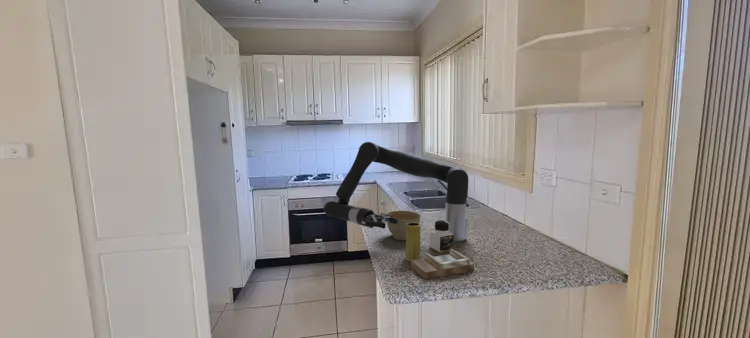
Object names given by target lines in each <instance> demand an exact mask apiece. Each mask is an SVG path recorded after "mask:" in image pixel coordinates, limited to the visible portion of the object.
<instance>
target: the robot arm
mask: <svg viewBox="0 0 750 338" xmlns="http://www.w3.org/2000/svg"><path fill="white" fill-rule="evenodd" d="M353 161H354V162H353V164H352V165H351V168H350V169H349V170H348V172H347V174H346V175H345V177H344V179H343V180H342V181H341V183H340V185H339V187H338V189H337V190H336V193H335V195H336V197H337V198H338V201H337V202H336V201H334V200H330V201H328V202H326V203H325V204H324V206H323V211H324V213H325V215H326V216H328V217H332V218H336V219H340V220H344V221H347V222H350V223H353V224H356V225H359V226H364V227H366V228H369V229H373V228H380V229H386V227H387V222H390V223H394V224H397V223H398V219H396V218H392V215H388V214H387V213H383V212H380V214H379V213H375V212H374V211H373V210H372V209H370V208H365V207H361V206H355V205H350V204H349V203H350V199H351V197H352V196H353V194H354V193H355V191H356V189H357V187H358V186H359V183H360V181H361V179H362V177H363V175H364V174H365V172H366V170H367V169H368V168H369V166H370V165H371V164H372V163H378V164H383V165H385V166H388V167H390V168H393V169H394V170H397V171H399V172H402V173H403V174H408V175H412V176H415V177H421V178H428V179H429V178H430V179H434V180H438V181H441V182H444V183H446V184H447V186H446V187H447V188H446V196H445V213H444V214H445V216H444V221H447V222H449V232H450V233H453V234H454V236H453V242H463V241H465V240H467V235H468V234H467V233H468V219H467V218H466V217H467V215H466V214H467V199H468V194H469V193H468V192H469V175H468V173H467V171H465V170H464V169H462V168H461V167H459V166H458V167H457V166H452V165H446V164H441V163H439V162H438V163H437V162H435V161H433V160H432V159H427V158H425V157H422V156H419V155H416V154H413V153H411V152H410V153H409V152H405V151H400V150H399V151H398V150H392V149H389V148H386V147H383V146H380V145H378V144H377V143H374V142H371V141H365V142H363V143H362V144H361V145H360V146H359V147H358V151H357V154H356V157H355V160H353Z"/></svg>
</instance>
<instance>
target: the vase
mask: <svg viewBox="0 0 750 338" xmlns="http://www.w3.org/2000/svg"><path fill="white" fill-rule="evenodd" d="M416 259H421V224H420V223H415V222H410V223H407V231H406V240H405V254H404V260H405V261H406V262H409V263H411V260H416Z"/></svg>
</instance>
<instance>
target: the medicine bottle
mask: <svg viewBox="0 0 750 338" xmlns="http://www.w3.org/2000/svg"><path fill="white" fill-rule="evenodd" d="M429 235H430V237H429V248H430V249H432V250H434V251H436V252H438V253H444V252H450V249H454V241H453V236H454V234H453V233H450V232H449V222H447V221H445V219H444V220H436V221H434V230H431V231H430V233H429Z"/></svg>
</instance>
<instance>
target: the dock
mask: <svg viewBox="0 0 750 338" xmlns="http://www.w3.org/2000/svg"><path fill="white" fill-rule="evenodd" d="M410 267H411V268H412V269H413V270H414V271H415V272H416V273H418V274H419V275H420V276H421V277H423V278H424V279H425V280H428V279H434V278H435V279H436V278H440V277H445V276H450V275H456V274H461V273H467V272H471V271H472V272H473V271H475V270H474V269H475V263H473V262H472V261H471V259H470V258H468V257H467V256H465V255H464V254H462V253H460V252H459V251H457V250H455V249H454V248H453V249H450V251H449V253H448V254H443V255H441V254H440V255H437V256H434V255H431V254H430V253H428V252H424V257H422V258H420V259H416V260H411V262H410Z"/></svg>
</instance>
